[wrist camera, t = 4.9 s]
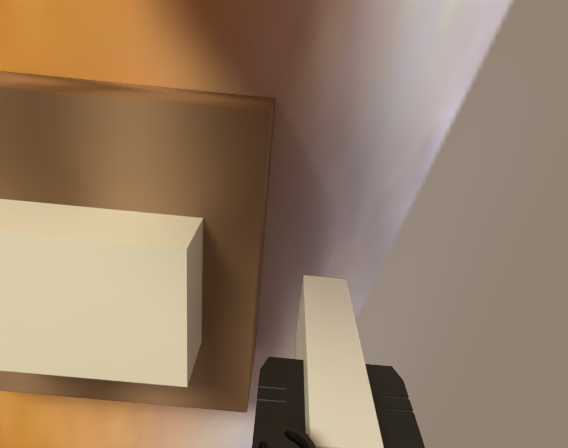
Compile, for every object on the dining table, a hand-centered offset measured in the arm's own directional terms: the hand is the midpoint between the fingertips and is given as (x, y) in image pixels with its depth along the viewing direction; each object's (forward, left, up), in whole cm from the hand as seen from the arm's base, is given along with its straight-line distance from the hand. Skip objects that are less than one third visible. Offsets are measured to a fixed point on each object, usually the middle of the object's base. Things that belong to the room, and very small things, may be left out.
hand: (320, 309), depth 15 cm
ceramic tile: (-4, -7, -1) cm, 8 cm away
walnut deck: (-5, -8, -5) cm, 11 cm away
